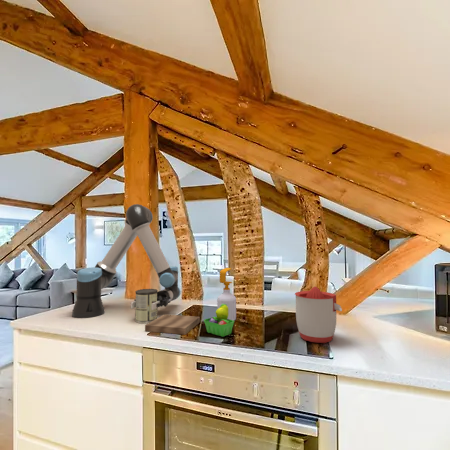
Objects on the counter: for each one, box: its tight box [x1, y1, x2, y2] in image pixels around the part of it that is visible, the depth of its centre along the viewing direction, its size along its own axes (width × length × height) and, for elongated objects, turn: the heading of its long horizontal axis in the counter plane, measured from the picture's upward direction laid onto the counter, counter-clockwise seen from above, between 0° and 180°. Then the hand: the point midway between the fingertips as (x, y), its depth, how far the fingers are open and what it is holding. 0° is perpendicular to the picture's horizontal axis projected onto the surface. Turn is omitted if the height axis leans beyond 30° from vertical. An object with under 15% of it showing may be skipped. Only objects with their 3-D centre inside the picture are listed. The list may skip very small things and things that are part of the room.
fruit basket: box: [203, 304, 235, 337], centre depth 117 cm, size 11×9×11 cm
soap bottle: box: [216, 267, 237, 322], centre depth 137 cm, size 9×9×25 cm
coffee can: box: [135, 288, 159, 324], centre depth 135 cm, size 10×10×14 cm
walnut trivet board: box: [144, 314, 201, 335], centre depth 125 cm, size 18×18×2 cm
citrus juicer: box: [294, 286, 343, 344], centre depth 110 cm, size 16×17×20 cm
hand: (141, 306), depth 131 cm, fingers closed on coffee can, 10 cm apart
